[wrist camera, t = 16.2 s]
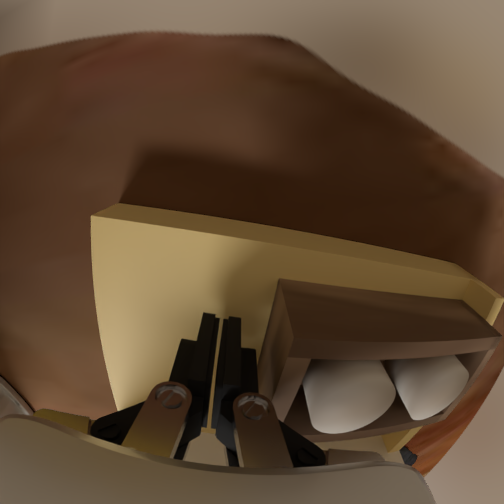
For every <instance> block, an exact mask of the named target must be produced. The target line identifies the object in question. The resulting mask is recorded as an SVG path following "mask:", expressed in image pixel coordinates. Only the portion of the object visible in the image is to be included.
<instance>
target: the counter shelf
mask: <svg viewBox="0 0 504 504" xmlns="http://www.w3.org/2000/svg"><path fill="white" fill-rule="evenodd" d="M91 251H92V270H93V283H94V293H95V302H96V311H97V318H98V325H99V331H100V337H101V343H102V348H103V353H104V358H105V363H106V368H107V372H108V376H109V380H110V384H111V388H112V392H113V396H114V399H115V403H116V406H117V410H118V411H120V410H123V409H125V408H128V407H131V406H133V405H136V404H138V403H141V402H143V401H146V399H147V397H148V396H149V394H150V392H151V390H152V389H153V388H154V387H155V386H156V385H157V384H159V383H162V382H166V381H169V378H170V374H171V371H172V367H173V364H174V361H175V357H176V354H177V351H178V347H179V344H180V341H181V339H182V338H183V339H188V340H194V341H197V337H198V332H199V328H200V324H201V319H202V315H203V312H205V313H212V314H216V316H215V317H216V318H220V322H219V330H218V338H217V346H216V353H215V362H214V370H213V378H212V386H211V395H210V403H209V412H208V421H207V428H204V427H201V434H200V436H198V437H197V438H195V439H193V440H191V444H190V447H189V450H188V453H187V456H186V458H185V461H189V462H196V463H203V464H211V465H220V466H226V460H225V454H224V445H223V444H222V443H221V442H220V441H219V440H218V439H217V438H216V436H215V434H216V429H211V419H212V409H213V398H214V389H215V379H216V369H217V361H218V354H219V347H220V340H221V332H222V325H223V319H228V318H229V316H232V317H240V318H241V347H243V348H252V349H256V358H257V364H258V360H259V356H260V353H261V349H262V345H263V341H264V337H265V333H266V329H267V325H268V321H269V317H270V313H271V309H272V305H273V301H274V296H275V292H276V288H277V284H278V280H279V278H282V279H289V280H296V281H303V282H311V283H318V284H326V285H334V286H342V287H350V288H358V289H366V290H374V291H383V292H391V293H400V294H409V295H419V296H428V297H438V298H448V299H458V300H463V301H464V302H466V303H467V304H468V305H469V306H470V307H471V308H472V309H474V310H475V311H476V312H477V313H478V314H479V315H480V316H481V317H483V318H484V319H485V320H486V321H487V322H488V323H489V324H490V325H491V326H492V325H493V323H494V321H495V319H496V317H497V315H498V313H499V310H500V308H501V306H502V304H503V302H504V298H503V297H502V296H500V295H499V294H498V293H496V292H495V291H494V290H492V289H491V288H490V287H488V286H487V285H486V284H484V283H483V282H481V281H480V280H479V279H477V278H476V277H474V276H473V275H471V274H470V273H469V272H467V271H466V270H464V269H463V268H461V267H460V266H458V265H457V264H455V263H451V262H447V261H443V260H438V259H434V258H430V257H425V256H421V255H416V254H412V253H407V252H403V251H398V250H393V249H388V248H384V247H379V246H374V245H369V244H364V243H359V242H354V241H349V240H344V239H339V238H334V237H329V236H323V235H318V234H313V233H307V232H302V231H296V230H291V229H285V228H280V227H274V226H268V225H262V224H256V223H250V222H244V221H238V220H232V219H226V218H220V217H213V216H207V215H200V214H194V213H187V212H180V211H173V210H166V209H159V208H152V207H145V206H137V205H129V204H122V203H117V204H115V205H113V206H111V207H108V208H106V209H104V210H102V211H100V212H98V213H95V214H93V215H91ZM421 427H422V426H420V427H417V428H413V429H408V430H404V431H400V432H395V433H390V434H385V435H379V436H373V437H367V438H360V439H352V440H343V441H333V442H319V443H314V444H316V445H317V446H318V447H320V448H321V449H322V450H328V449H329V448H330V449H340V450H353V451H372V452H377V453H378V454H380V455H382V457H383V458H384V459H385V461H389V462H397V463H402V464H404V461H403V459H402V456H401V454H400V451H399V450H400V449H401V448H402V447H403V446H404V445H405V444H406V443H407V442H408V441H409V440H410V439H411V438H412V437H413V436H414V435H415V434H416V433H417V432H418V431H419V430H420V429H421Z"/></svg>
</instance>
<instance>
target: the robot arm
mask: <svg viewBox="0 0 504 504" xmlns="http://www.w3.org/2000/svg"><path fill="white" fill-rule="evenodd" d="M215 316H216V314H212V313H205V312H203V315H202V319H201V324H200V328H199V332H198V337H197V341H194V340H188V339H183V338H182V339H181V341H180V344H179V347H178V351H177V354H176V357H175V361H174V364H173V367H172V371H171V374H170V378H169V381H166V382H162V383H159V384H157V385H156V386H155V387H154V388H153V389H152V390H151V392H150V394H149V396H148V397H147V399H146V401H143V402H141V403H138V404H136V405H133V406H131V407H128V408H125V409H123V410H120V411H117V412H115V413H112V414H109V415H106V416H104V417H101V418H99V419H97V420H91V419H90V417H86V416H80V415H75V414H69V413H64V412H60V411H55V410H51V409H40V410H37V411H36V412H35V413H33V411H32V410H31V408H30V407H29V406H28V405H27V403H26V402H25V401H24V400H23V399H22V398H21V396H20V395H19V394H18V393H17V392H16V391H15V390H14V389H13V388H12V387H11V386H10V385H9V384H8V383H7V382H6V381H5V380H4V379H3V378H2V377H1V376H0V504H436V503H435V500H434V498H433V495H432V493H431V491H430V489H429V487H428V485H427V483H426V481H425V480H424V478H423V476H422V475H421V474H420V473H419V471H417V470H416V469H415V468H413V467H412V466H409V465H406V464H402V463H397V462H389V461H385V459H384V458H383V457H382V455H380V454H378V453H377V452H372V451H353V450H340V449H330V448H329V449H328V450H322V449H321V448H320V447H318V446H317V445H316V444H314V443H312V442H311V441H309V440H308V439H306V438H305V437H303V436H302V435H300V434H299V433H297V432H296V431H295V430H293V429H292V428H290V427H289V426H287V425H286V424H285V423H283V422H282V421H280V420H279V419H278V418H277V414H276V411H275V408H274V405H273V403H272V402H271V401H270V400H269V399H268V398H267V397H265V396H264V395H262V394H259V389H258V374H257V358H256V349H252V348H243V347H241V318H240V317H232V316H229V318H228V319H223V325H222V332H221V340H220V347H219V354H218V361H217V369H216V379H215V389H214V398H213V409H212V419H211V429H216V434H215V436H216V438H217V439H218V440H219V441H220V442H221V443H222V444H223V445H224V454H225V460H226V466H220V465H211V464H203V463H196V462H189V461H185V458H186V456H187V453H188V450H189V447H190V444H191V440H193V439H195V438H197V437H198V436H200V434H201V427H204V428H207V421H208V412H209V403H210V395H211V386H212V378H213V370H214V362H215V353H216V346H217V338H218V330H219V322H220V318H216V317H215Z"/></svg>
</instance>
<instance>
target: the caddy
mask: <svg viewBox="0 0 504 504" xmlns="http://www.w3.org/2000/svg"><path fill="white" fill-rule="evenodd" d="M501 338H502V335H501V334H500V333H499V332H498V331H497V330H496V329H494V328H493V327H492V326H491V325H490V324H489V323H488V322H487V321H486V320H485V319H484V318H483V317H481V316H480V315H479V314H478V313H477V312H476V311H475V310H474V309H472V308H471V307H470V306H469V305H468V304H467V303H466V302H464V301H463V300H458V299H448V298H438V297H428V296H419V295H409V294H400V293H391V292H383V291H374V290H366V289H358V288H350V287H342V286H334V285H326V284H318V283H311V282H303V281H296V280H289V279H282V278H279V280H278V284H277V288H276V292H275V296H274V301H273V305H272V309H271V313H270V317H269V321H268V325H267V329H266V333H265V337H264V341H263V345H262V349H261V353H260V356H259V360H258V364H257V374H258V389H259V394H262V395H264V396H265V397H267V398H268V399H269V400H270V401H271V402H272V403H273V405H274V408H275V411H276V414H277V418H278V419H279V420H280V421H282V422H283V423H285V424H286V425H287V426H289V427H290V428H292V429H293V430H295V431H296V432H297V433H299V434H300V435H302V436H303V437H305V438H306V439H308V440H309V441H311V442H312V443H319V442H333V441H343V440H352V439H360V438H367V437H373V436H379V435H385V434H390V433H395V432H400V431H404V430H408V429H413V428H417V427H420V426H424V425H428V424H431V423H435V422H438V421H441V420H445V418H446V417H447V416H448V415H449V414H450V413H451V411H452V410H453V409H454V408H455V406H456V405H457V404H458V403H459V401H460V400H461V399H462V398H463V396H464V395H465V394H466V392H467V391H468V390H469V388H470V387H471V386H472V384H473V383H474V381H475V380H476V378H477V377H478V376H479V374H480V373H481V371H482V370H483V368H484V366H485V365H486V363H487V362H488V360H489V359H490V357H491V355H492V354H493V352H494V350H495V349H496V347H497V345H498V343H499V341H500V340H501Z"/></svg>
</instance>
